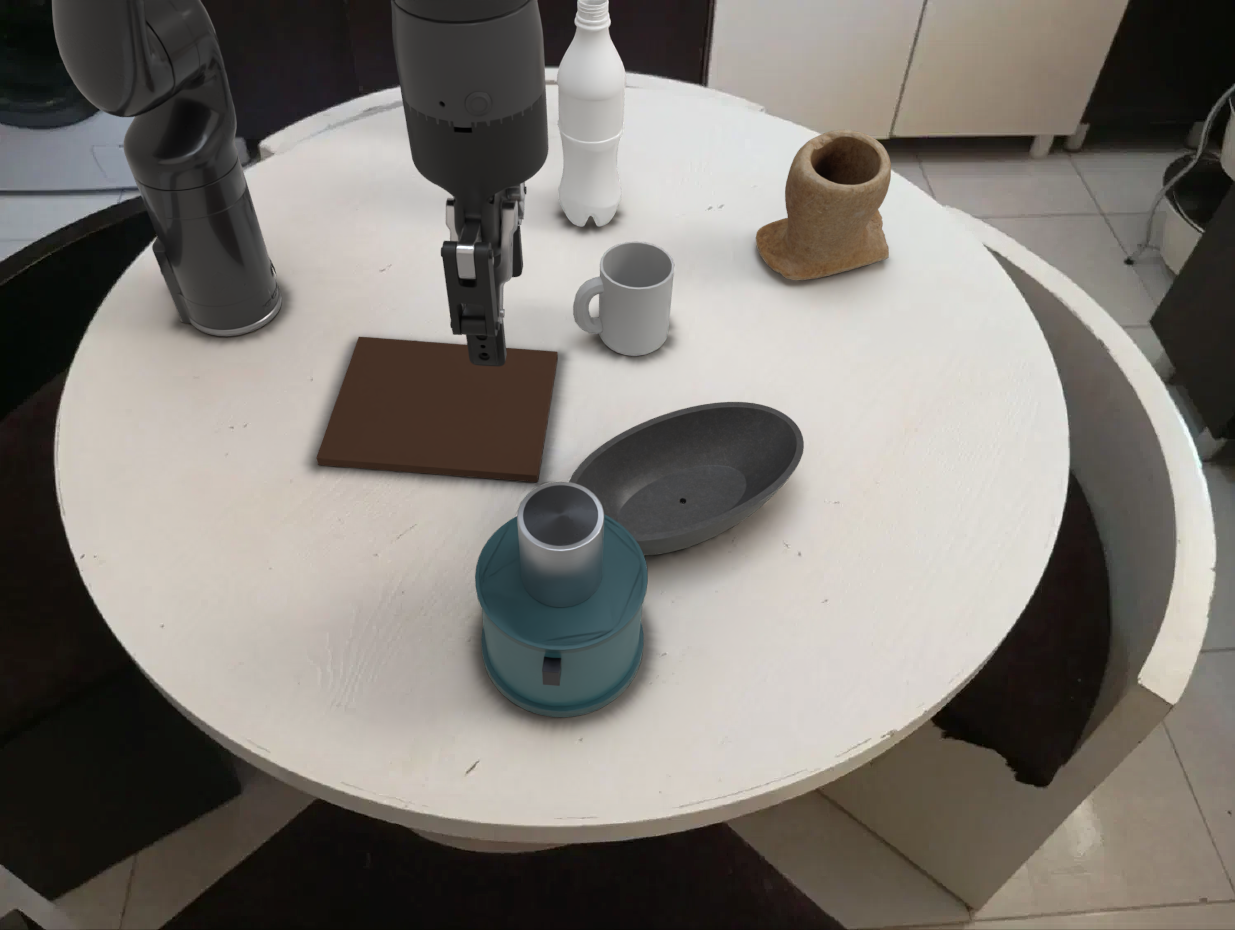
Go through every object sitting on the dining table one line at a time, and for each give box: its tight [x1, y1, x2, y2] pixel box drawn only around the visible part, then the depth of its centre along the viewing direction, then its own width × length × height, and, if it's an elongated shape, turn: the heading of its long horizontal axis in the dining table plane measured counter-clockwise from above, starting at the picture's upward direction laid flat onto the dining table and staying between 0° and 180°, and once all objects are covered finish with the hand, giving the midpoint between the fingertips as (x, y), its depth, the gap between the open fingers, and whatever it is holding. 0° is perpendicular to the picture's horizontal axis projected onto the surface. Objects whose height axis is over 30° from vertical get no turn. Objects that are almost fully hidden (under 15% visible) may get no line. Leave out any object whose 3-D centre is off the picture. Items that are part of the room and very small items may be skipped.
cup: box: [572, 240, 675, 357], centre depth 98 cm, size 7×10×9 cm
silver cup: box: [516, 481, 604, 607], centre depth 69 cm, size 6×6×7 cm
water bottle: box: [556, 0, 627, 228], centre depth 105 cm, size 7×7×25 cm
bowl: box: [568, 401, 805, 556], centre depth 85 cm, size 12×22×6 cm, turn 119°
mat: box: [315, 336, 559, 483], centre depth 94 cm, size 20×16×1 cm
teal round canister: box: [474, 514, 649, 718], centre depth 75 cm, size 13×14×10 cm
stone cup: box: [755, 129, 892, 281], centre depth 105 cm, size 15×12×15 cm
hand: (498, 316), depth 64 cm, fingers open, 8 cm apart
